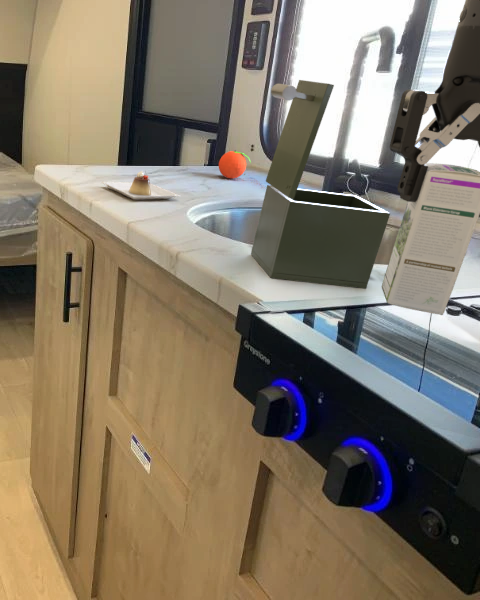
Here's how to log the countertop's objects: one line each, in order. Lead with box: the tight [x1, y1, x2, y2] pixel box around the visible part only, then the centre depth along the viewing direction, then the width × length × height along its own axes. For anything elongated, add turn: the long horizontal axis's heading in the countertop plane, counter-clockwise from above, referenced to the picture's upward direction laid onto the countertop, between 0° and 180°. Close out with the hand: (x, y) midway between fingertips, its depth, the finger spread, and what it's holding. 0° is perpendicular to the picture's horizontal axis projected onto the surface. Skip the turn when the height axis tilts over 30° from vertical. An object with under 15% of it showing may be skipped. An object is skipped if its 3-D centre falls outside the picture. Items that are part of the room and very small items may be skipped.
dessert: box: [101, 170, 181, 201], centre depth 123 cm, size 12×12×5 cm
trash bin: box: [250, 184, 391, 289], centre depth 86 cm, size 14×11×11 cm
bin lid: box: [265, 79, 335, 199], centre depth 80 cm, size 14×11×5 cm
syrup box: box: [381, 162, 480, 316], centre depth 62 cm, size 6×6×14 cm
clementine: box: [218, 150, 252, 180], centre depth 153 cm, size 8×7×7 cm
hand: (443, 203), depth 61 cm, fingers closed on syrup box, 7 cm apart
